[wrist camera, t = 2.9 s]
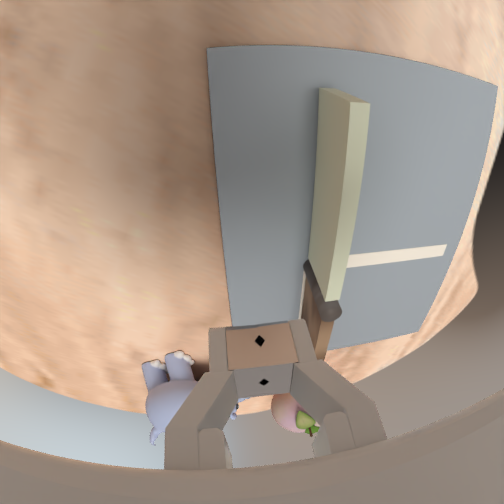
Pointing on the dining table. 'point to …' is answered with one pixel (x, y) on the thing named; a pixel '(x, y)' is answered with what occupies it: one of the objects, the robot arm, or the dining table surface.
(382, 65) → the board
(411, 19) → the dining table surface
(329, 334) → the fence fixed
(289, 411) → the decorative fruit
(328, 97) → the fence gate
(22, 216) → the dining table surface
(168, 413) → the hippopotamus toy
